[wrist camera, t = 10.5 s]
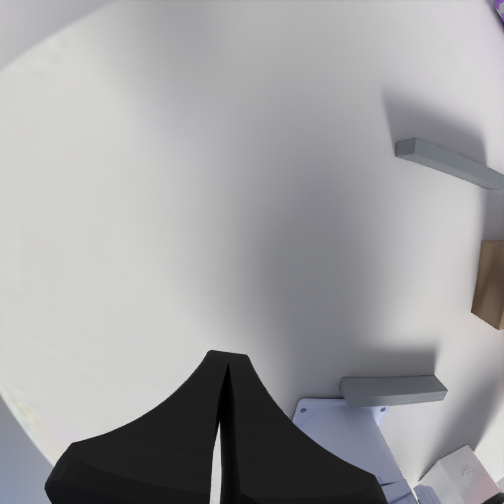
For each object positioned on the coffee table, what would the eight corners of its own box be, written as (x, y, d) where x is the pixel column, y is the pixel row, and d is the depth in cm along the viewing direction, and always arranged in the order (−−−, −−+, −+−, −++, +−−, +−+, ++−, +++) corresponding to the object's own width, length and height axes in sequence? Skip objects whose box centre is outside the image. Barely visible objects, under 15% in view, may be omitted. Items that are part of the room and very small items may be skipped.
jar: (480, 434, 25) (525, 492, 13) (467, 467, 26) (501, 520, 15) (421, 466, 25) (459, 536, 13) (414, 494, 27) (442, 556, 15)
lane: (429, 384, 22) (443, 400, 19) (339, 387, 21) (348, 407, 19) (488, 176, 18) (509, 177, 16) (397, 141, 17) (416, 137, 15)
